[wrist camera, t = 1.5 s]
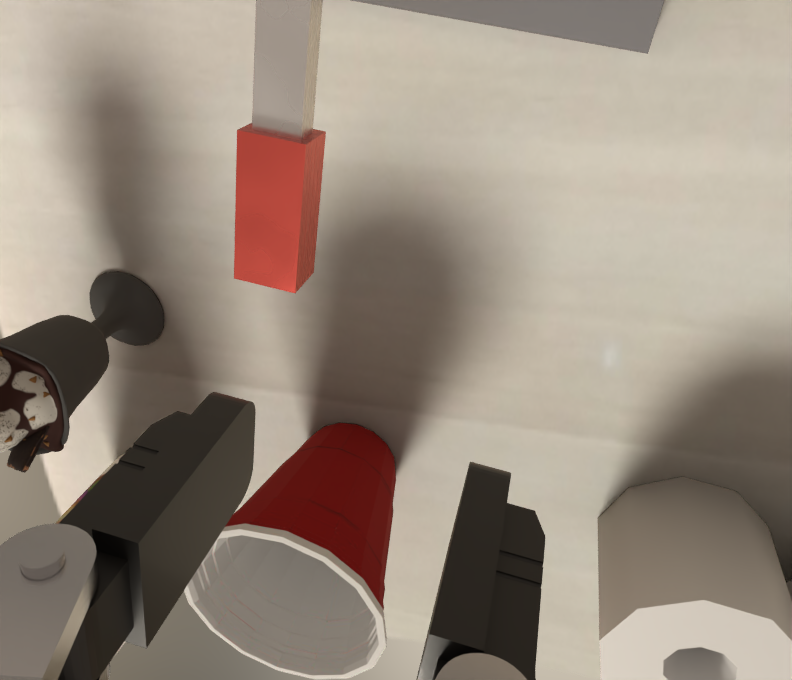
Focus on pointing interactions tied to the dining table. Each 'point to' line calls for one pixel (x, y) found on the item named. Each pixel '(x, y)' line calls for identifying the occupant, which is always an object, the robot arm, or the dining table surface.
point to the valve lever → (280, 150)
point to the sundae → (67, 364)
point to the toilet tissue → (690, 587)
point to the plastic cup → (307, 560)
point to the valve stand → (553, 17)
